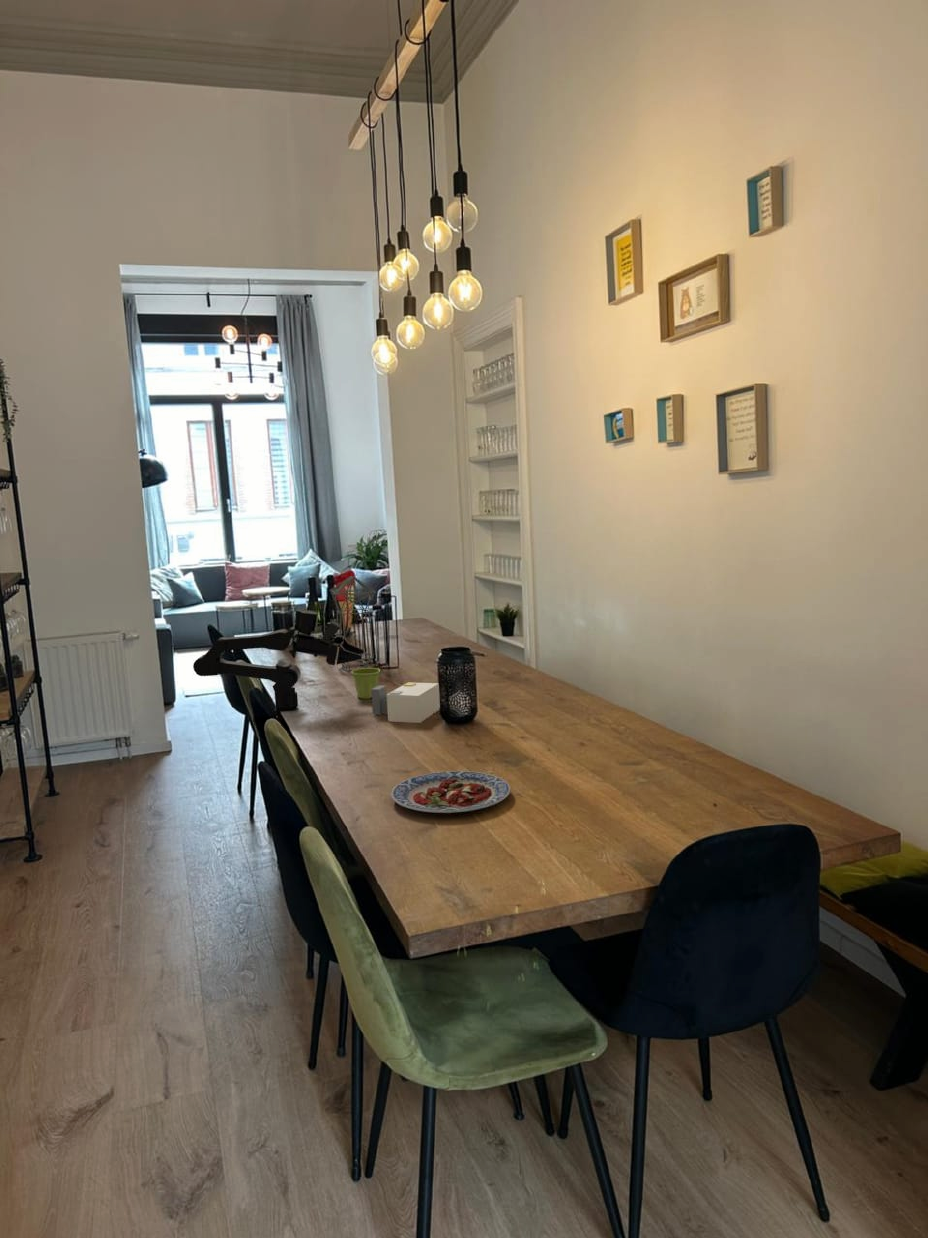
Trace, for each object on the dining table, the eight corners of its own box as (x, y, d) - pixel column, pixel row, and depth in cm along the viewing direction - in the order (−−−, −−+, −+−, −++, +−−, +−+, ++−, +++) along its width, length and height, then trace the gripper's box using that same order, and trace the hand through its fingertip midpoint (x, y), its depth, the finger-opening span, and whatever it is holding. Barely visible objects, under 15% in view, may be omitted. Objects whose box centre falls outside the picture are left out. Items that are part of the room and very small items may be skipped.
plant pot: (384, 693, 295) (382, 667, 293) (378, 700, 285) (377, 673, 284) (356, 693, 296) (354, 668, 294) (350, 700, 286) (348, 674, 285)
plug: (372, 714, 266) (371, 689, 265) (380, 709, 271) (378, 685, 270) (401, 715, 263) (400, 690, 262) (408, 711, 268) (407, 686, 267)
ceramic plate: (444, 773, 211) (444, 761, 211) (534, 793, 195) (533, 780, 194) (366, 805, 191) (366, 792, 191) (458, 831, 175) (458, 816, 175)
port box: (387, 721, 259) (386, 693, 258) (409, 707, 274) (407, 681, 273) (420, 723, 256) (418, 694, 254) (439, 709, 270) (438, 682, 269)
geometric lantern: (331, 666, 343) (327, 576, 338) (371, 663, 347) (368, 574, 343) (338, 673, 328) (334, 579, 323) (380, 670, 332) (376, 577, 328)
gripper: (313, 624, 266) (364, 634, 267) (321, 615, 285) (369, 624, 285) (307, 660, 268) (358, 670, 269) (315, 649, 286) (363, 658, 287)
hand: (362, 654), depth 277 cm, fingers open, 9 cm apart
